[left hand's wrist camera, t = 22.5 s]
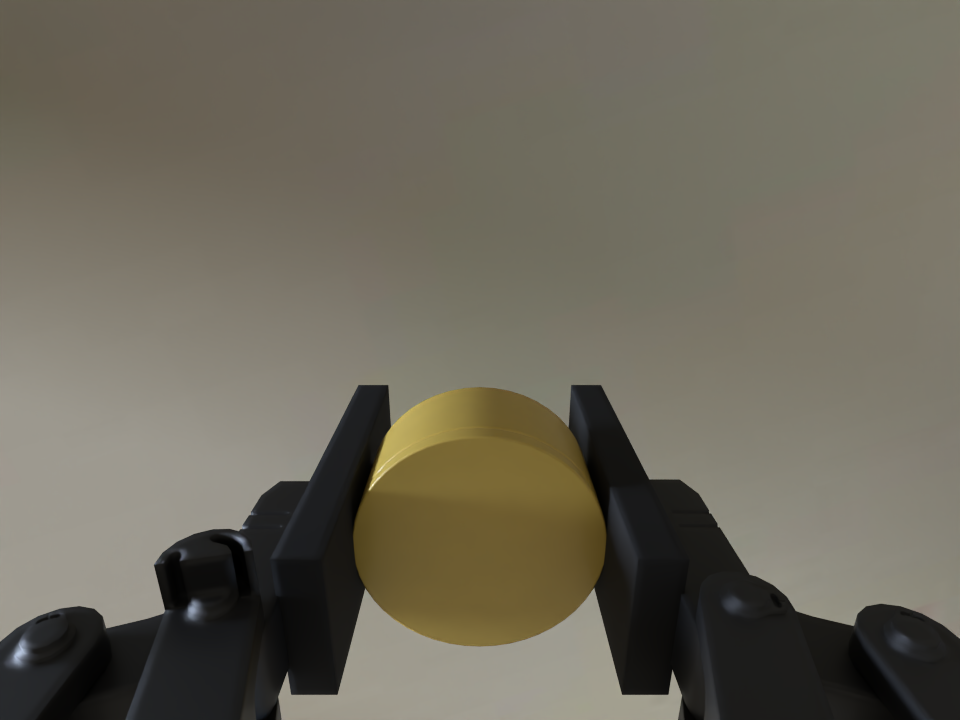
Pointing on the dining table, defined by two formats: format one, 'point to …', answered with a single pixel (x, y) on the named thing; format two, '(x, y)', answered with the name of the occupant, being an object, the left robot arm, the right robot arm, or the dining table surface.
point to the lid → (479, 520)
